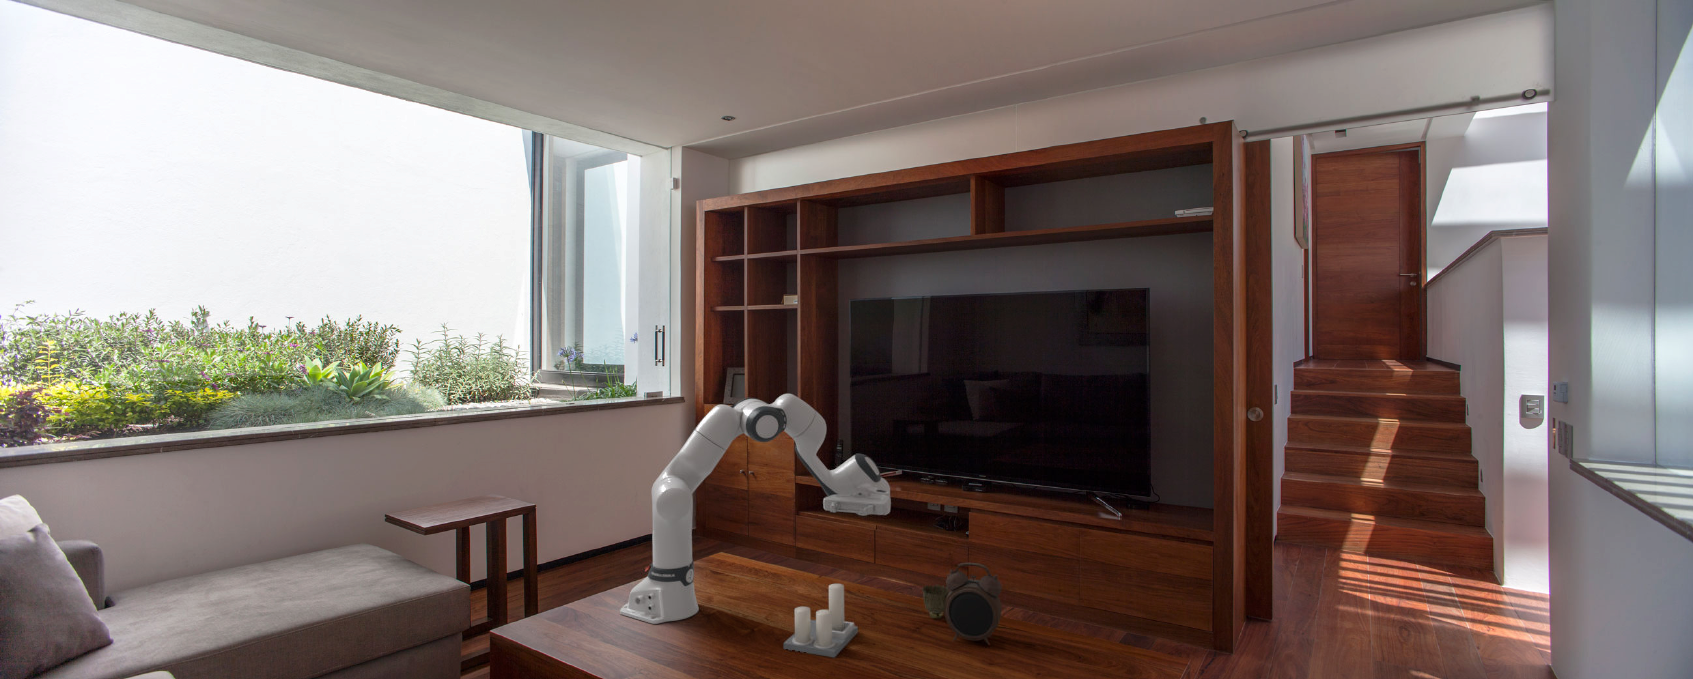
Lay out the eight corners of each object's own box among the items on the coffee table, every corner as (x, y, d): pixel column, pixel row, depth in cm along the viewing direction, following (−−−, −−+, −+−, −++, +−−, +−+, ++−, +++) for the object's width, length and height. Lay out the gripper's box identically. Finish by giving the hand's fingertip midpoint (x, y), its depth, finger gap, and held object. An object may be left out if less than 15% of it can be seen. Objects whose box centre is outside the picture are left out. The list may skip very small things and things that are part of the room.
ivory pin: (826, 633, 190) (826, 588, 189) (832, 627, 193) (832, 582, 193) (841, 636, 188) (840, 590, 188) (846, 629, 192) (846, 584, 192)
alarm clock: (942, 643, 186) (941, 565, 186) (948, 632, 193) (947, 557, 193) (1000, 650, 182) (999, 571, 181) (1003, 639, 188) (1002, 562, 188)
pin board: (783, 649, 184) (783, 611, 184) (810, 625, 199) (809, 590, 199) (834, 657, 179) (833, 619, 179) (857, 632, 194) (857, 596, 194)
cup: (948, 623, 199) (948, 594, 199) (921, 621, 200) (921, 592, 200) (950, 612, 206) (949, 584, 206) (924, 611, 208) (923, 583, 208)
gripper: (832, 487, 229) (814, 497, 216) (894, 492, 221) (879, 502, 208) (833, 507, 229) (815, 518, 216) (895, 512, 221) (880, 524, 208)
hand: (847, 510), depth 212 cm, fingers open, 8 cm apart
